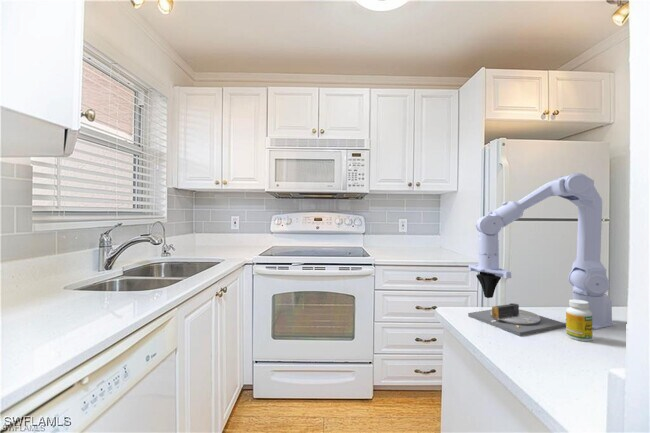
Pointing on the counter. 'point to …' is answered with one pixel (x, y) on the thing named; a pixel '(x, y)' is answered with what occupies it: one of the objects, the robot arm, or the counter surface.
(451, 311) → the counter surface
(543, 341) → the counter surface
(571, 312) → the supplement bottle
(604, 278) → the robot arm
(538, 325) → the dial plate
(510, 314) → the dial
